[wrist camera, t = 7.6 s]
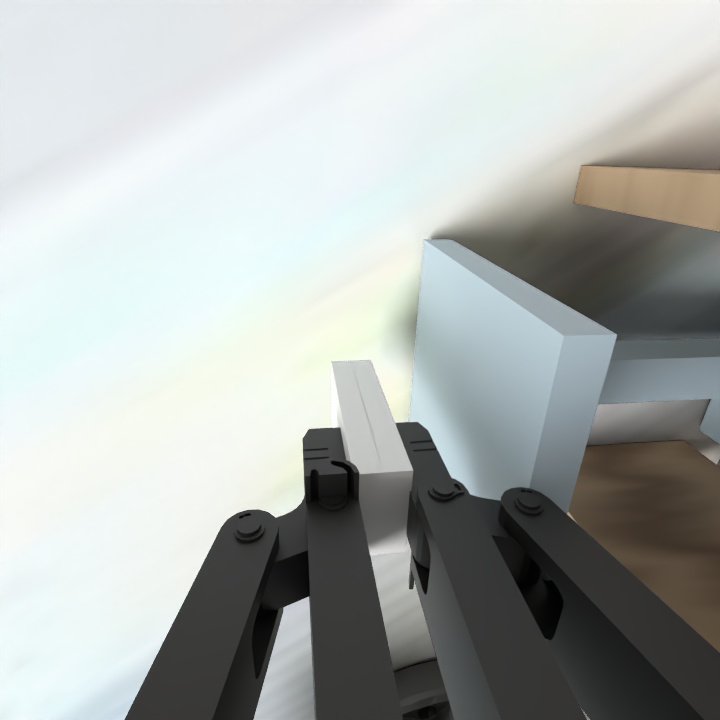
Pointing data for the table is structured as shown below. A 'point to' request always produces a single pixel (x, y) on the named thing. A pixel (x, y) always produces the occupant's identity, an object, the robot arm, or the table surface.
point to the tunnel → (657, 459)
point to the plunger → (531, 376)
